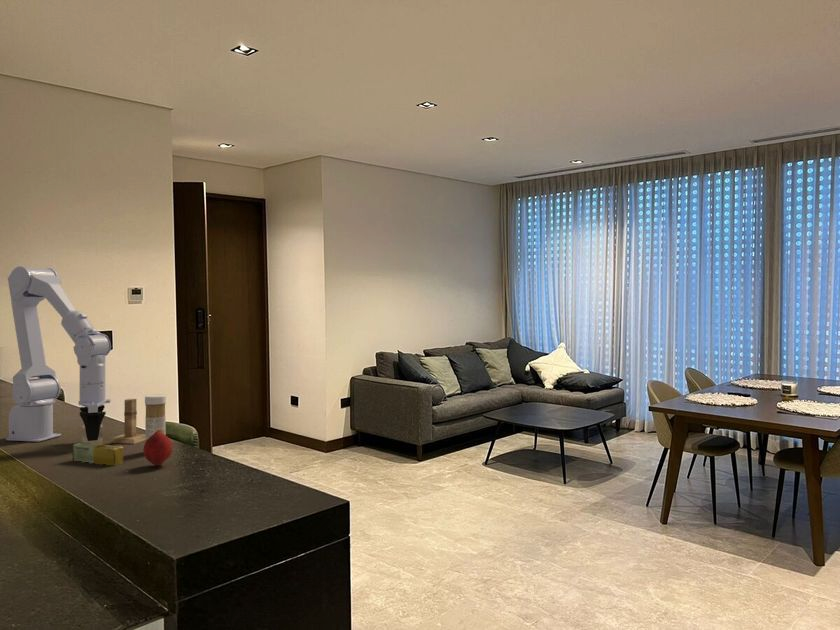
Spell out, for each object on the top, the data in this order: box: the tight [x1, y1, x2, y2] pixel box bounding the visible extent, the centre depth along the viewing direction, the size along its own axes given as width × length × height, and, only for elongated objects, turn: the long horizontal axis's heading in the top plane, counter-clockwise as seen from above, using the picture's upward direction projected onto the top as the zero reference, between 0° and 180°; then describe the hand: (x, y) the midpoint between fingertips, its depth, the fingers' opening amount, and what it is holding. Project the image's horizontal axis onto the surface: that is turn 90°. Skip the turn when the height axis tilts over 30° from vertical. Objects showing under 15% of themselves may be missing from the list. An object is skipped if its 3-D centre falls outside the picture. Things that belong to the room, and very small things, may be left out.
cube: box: [81, 423, 104, 445], centre depth 156 cm, size 4×4×4 cm
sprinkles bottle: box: [144, 393, 167, 442], centre depth 148 cm, size 5×5×14 cm
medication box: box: [71, 441, 124, 467], centre depth 138 cm, size 12×3×4 cm, turn 72°
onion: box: [143, 429, 174, 467], centre depth 135 cm, size 6×6×8 cm
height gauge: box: [111, 398, 146, 445], centre depth 160 cm, size 6×6×11 cm
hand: (92, 437), depth 156 cm, fingers open, 7 cm apart
